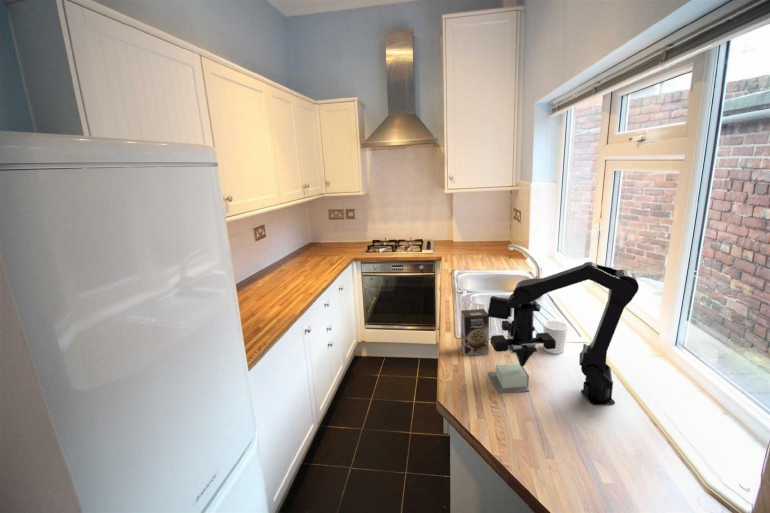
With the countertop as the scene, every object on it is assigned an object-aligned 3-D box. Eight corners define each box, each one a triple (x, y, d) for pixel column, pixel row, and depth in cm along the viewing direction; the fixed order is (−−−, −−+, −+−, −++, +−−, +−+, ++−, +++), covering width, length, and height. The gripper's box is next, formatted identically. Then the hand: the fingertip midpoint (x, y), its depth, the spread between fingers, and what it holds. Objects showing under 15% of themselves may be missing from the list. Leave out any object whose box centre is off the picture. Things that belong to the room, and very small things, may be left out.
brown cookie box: (465, 356, 130) (464, 316, 126) (460, 348, 136) (460, 309, 132) (489, 354, 130) (489, 314, 126) (484, 346, 137) (484, 307, 132)
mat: (516, 371, 119) (516, 370, 119) (528, 391, 108) (528, 390, 108) (488, 373, 119) (488, 372, 119) (498, 393, 109) (498, 392, 109)
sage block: (520, 363, 116) (496, 364, 116) (528, 375, 109) (503, 377, 109) (520, 373, 117) (496, 375, 117) (528, 386, 110) (502, 388, 110)
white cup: (543, 342, 136) (544, 319, 133) (566, 346, 132) (568, 322, 129) (540, 352, 130) (542, 327, 127) (564, 357, 126) (566, 331, 123)
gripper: (542, 309, 116) (540, 351, 120) (486, 312, 116) (485, 354, 120) (558, 323, 105) (555, 369, 109) (496, 327, 106) (495, 372, 110)
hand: (521, 365), depth 112 cm, fingers closed
